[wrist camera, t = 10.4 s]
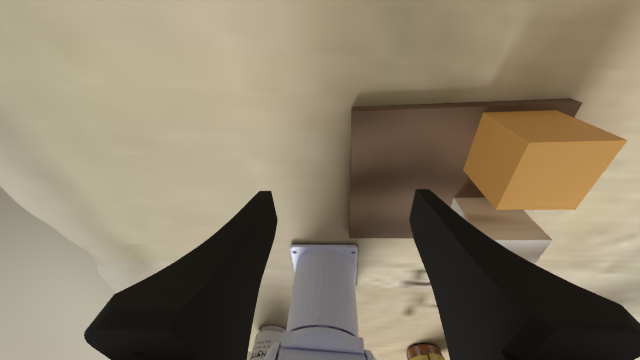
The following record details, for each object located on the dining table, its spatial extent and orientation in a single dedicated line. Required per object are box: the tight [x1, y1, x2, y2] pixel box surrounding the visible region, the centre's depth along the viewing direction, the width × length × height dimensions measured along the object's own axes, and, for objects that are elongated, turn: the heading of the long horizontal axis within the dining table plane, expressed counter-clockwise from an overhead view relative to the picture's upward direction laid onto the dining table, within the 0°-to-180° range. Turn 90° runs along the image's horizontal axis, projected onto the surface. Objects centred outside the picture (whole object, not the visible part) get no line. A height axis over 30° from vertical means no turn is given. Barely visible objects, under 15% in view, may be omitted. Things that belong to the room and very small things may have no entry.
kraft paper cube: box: [463, 110, 627, 210], centre depth 16 cm, size 5×5×5 cm
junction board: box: [349, 99, 582, 264], centre depth 19 cm, size 14×16×6 cm
